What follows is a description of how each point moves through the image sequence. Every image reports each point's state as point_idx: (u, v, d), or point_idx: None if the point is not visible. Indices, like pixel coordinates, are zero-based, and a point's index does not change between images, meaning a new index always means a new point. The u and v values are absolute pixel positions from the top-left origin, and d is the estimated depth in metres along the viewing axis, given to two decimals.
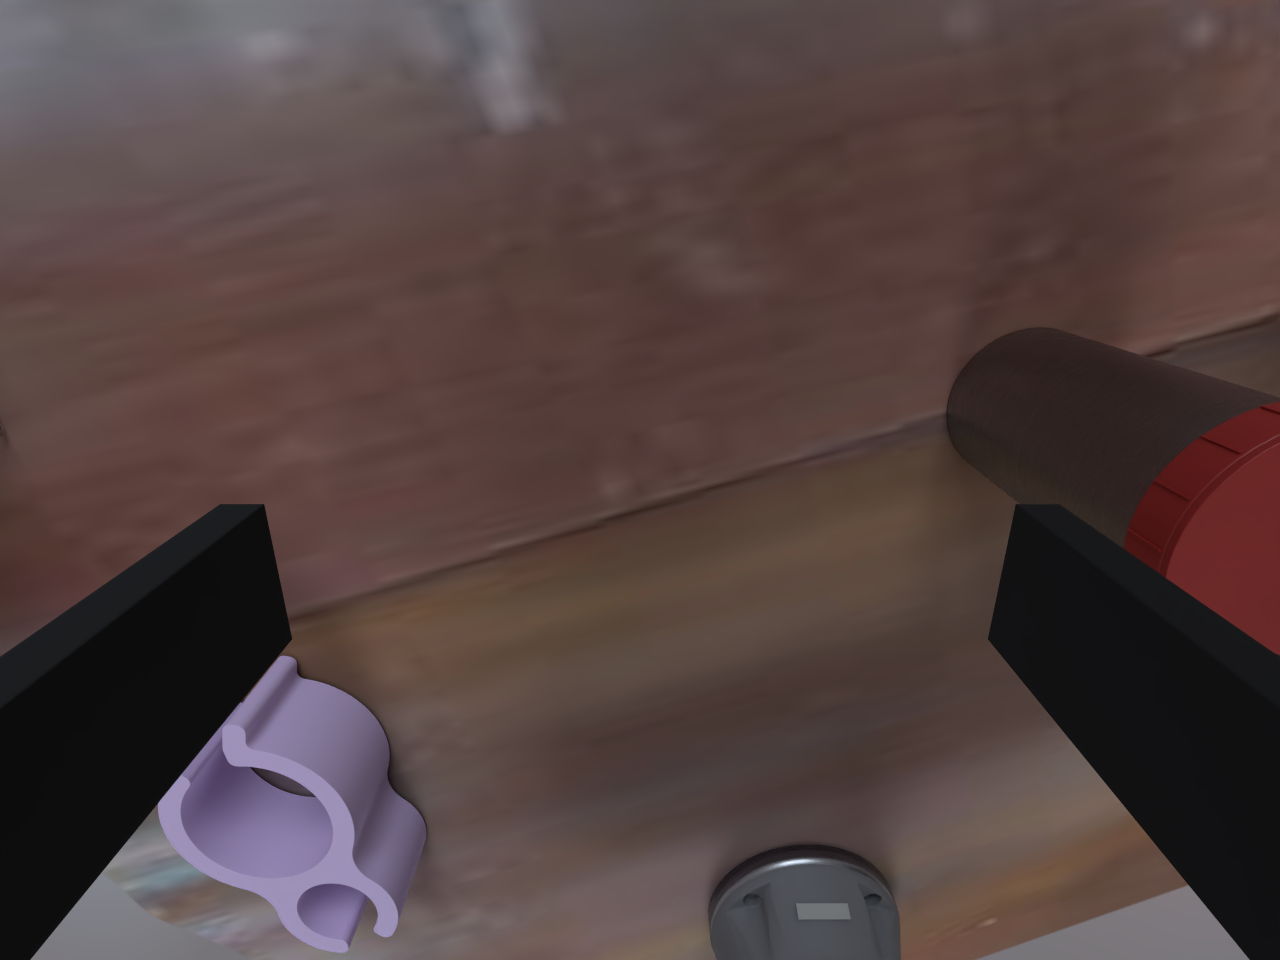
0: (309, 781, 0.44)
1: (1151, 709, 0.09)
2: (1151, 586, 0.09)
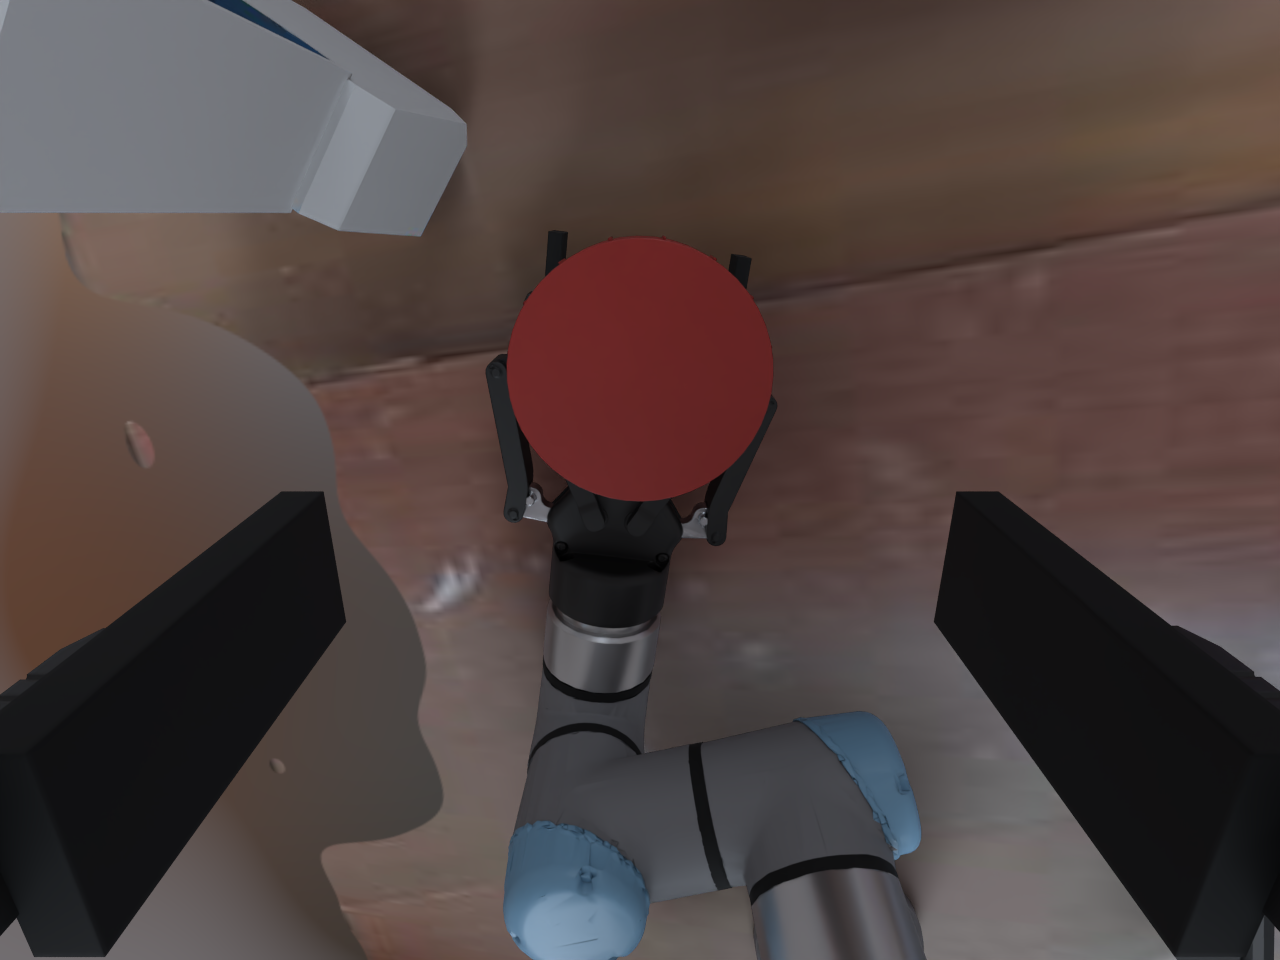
0: None
1: (1064, 680, 0.09)
2: (1068, 565, 0.10)
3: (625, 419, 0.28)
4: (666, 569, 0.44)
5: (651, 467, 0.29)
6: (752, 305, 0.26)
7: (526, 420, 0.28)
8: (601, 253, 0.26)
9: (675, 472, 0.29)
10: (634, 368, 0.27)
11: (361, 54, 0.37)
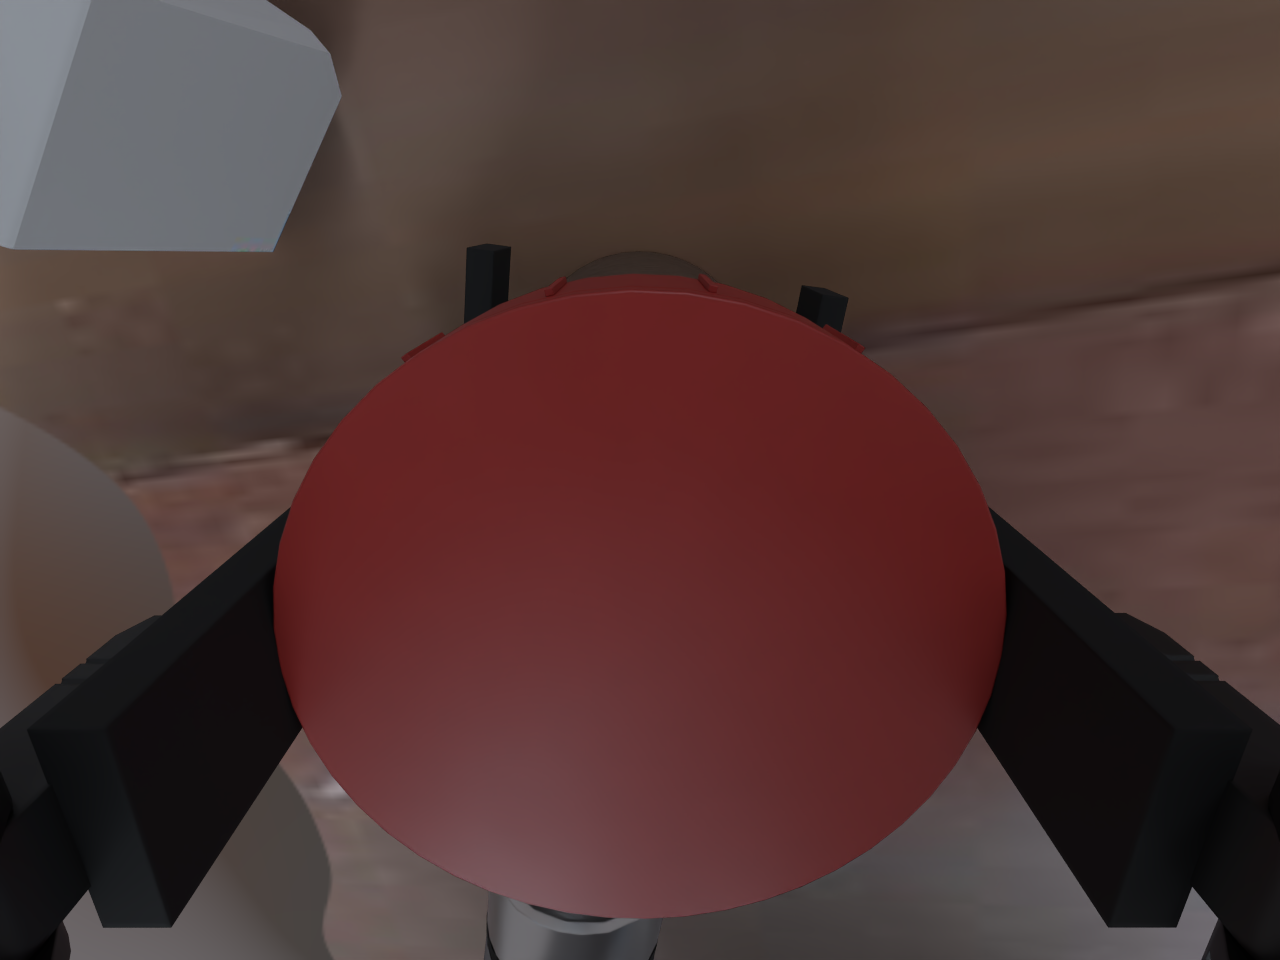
0: None
1: (1014, 665, 0.10)
2: (1021, 554, 0.10)
3: (601, 754, 0.11)
4: None
5: (669, 854, 0.11)
6: (966, 481, 0.09)
7: (342, 756, 0.11)
8: (521, 336, 0.08)
9: (728, 863, 0.11)
10: (624, 639, 0.10)
11: None
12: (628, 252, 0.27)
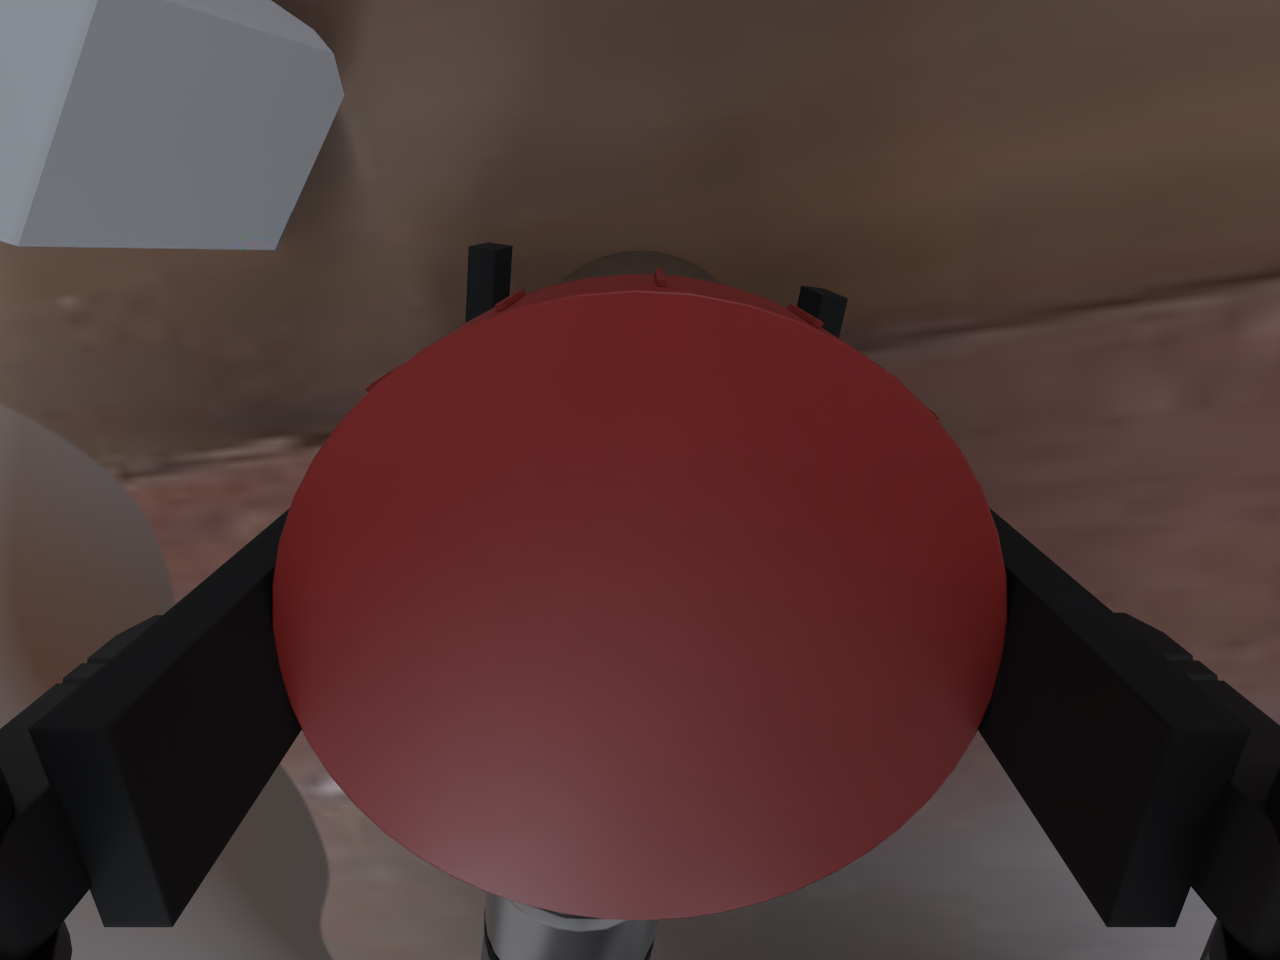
0: None
1: (1014, 665, 0.10)
2: (1020, 554, 0.10)
3: (757, 685, 0.10)
4: None
5: (900, 607, 0.10)
6: (373, 402, 0.09)
7: (775, 882, 0.12)
8: (349, 772, 0.11)
9: (916, 542, 0.09)
10: (614, 679, 0.10)
11: None
12: (629, 252, 0.27)
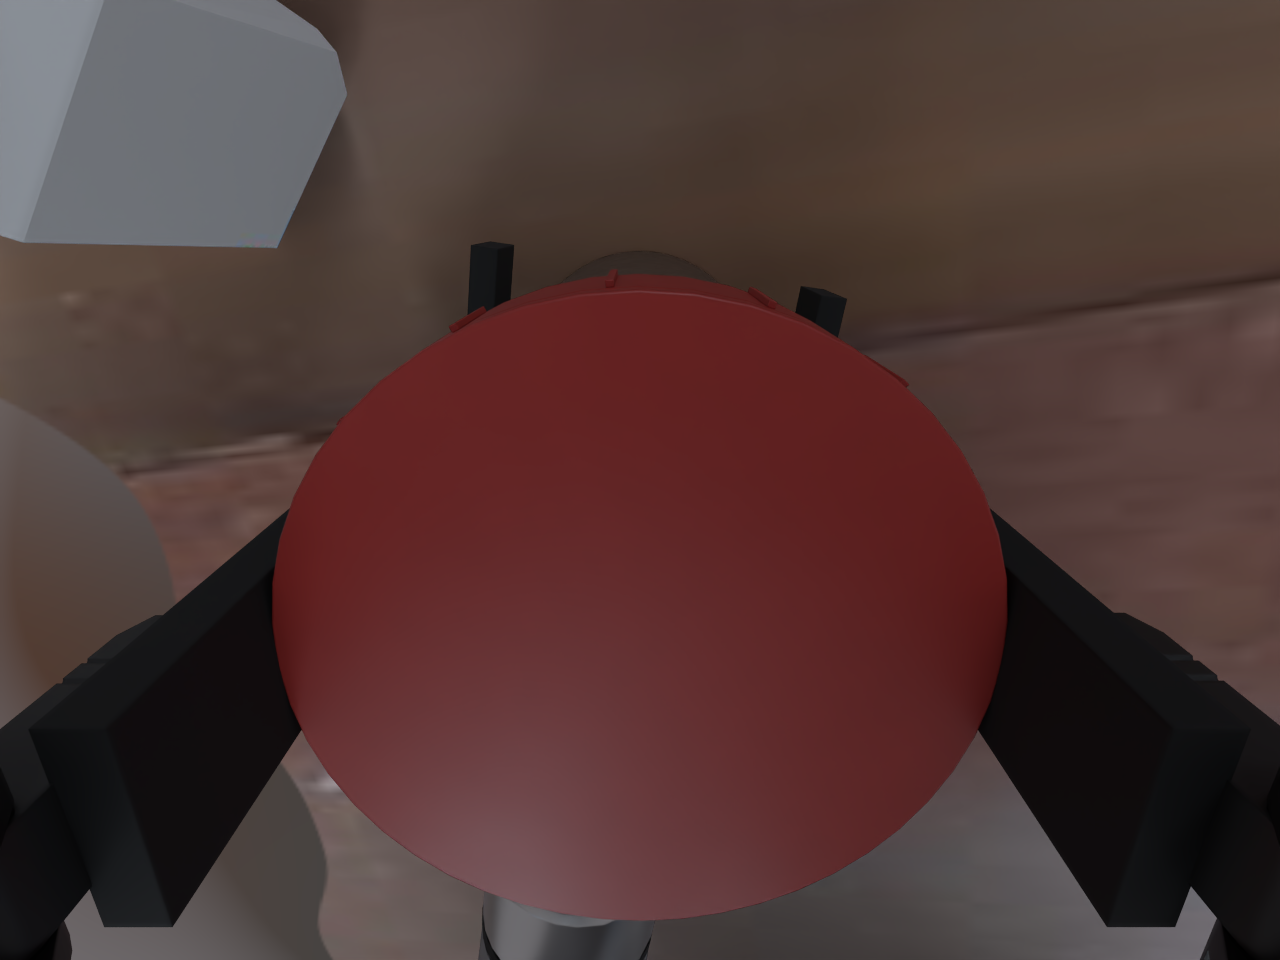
0: None
1: (1013, 665, 0.10)
2: (1020, 554, 0.10)
3: (651, 554, 0.09)
4: None
5: (531, 432, 0.09)
6: (428, 858, 0.11)
7: (947, 485, 0.09)
8: (792, 878, 0.11)
9: (451, 434, 0.09)
10: (660, 684, 0.10)
11: None
12: None
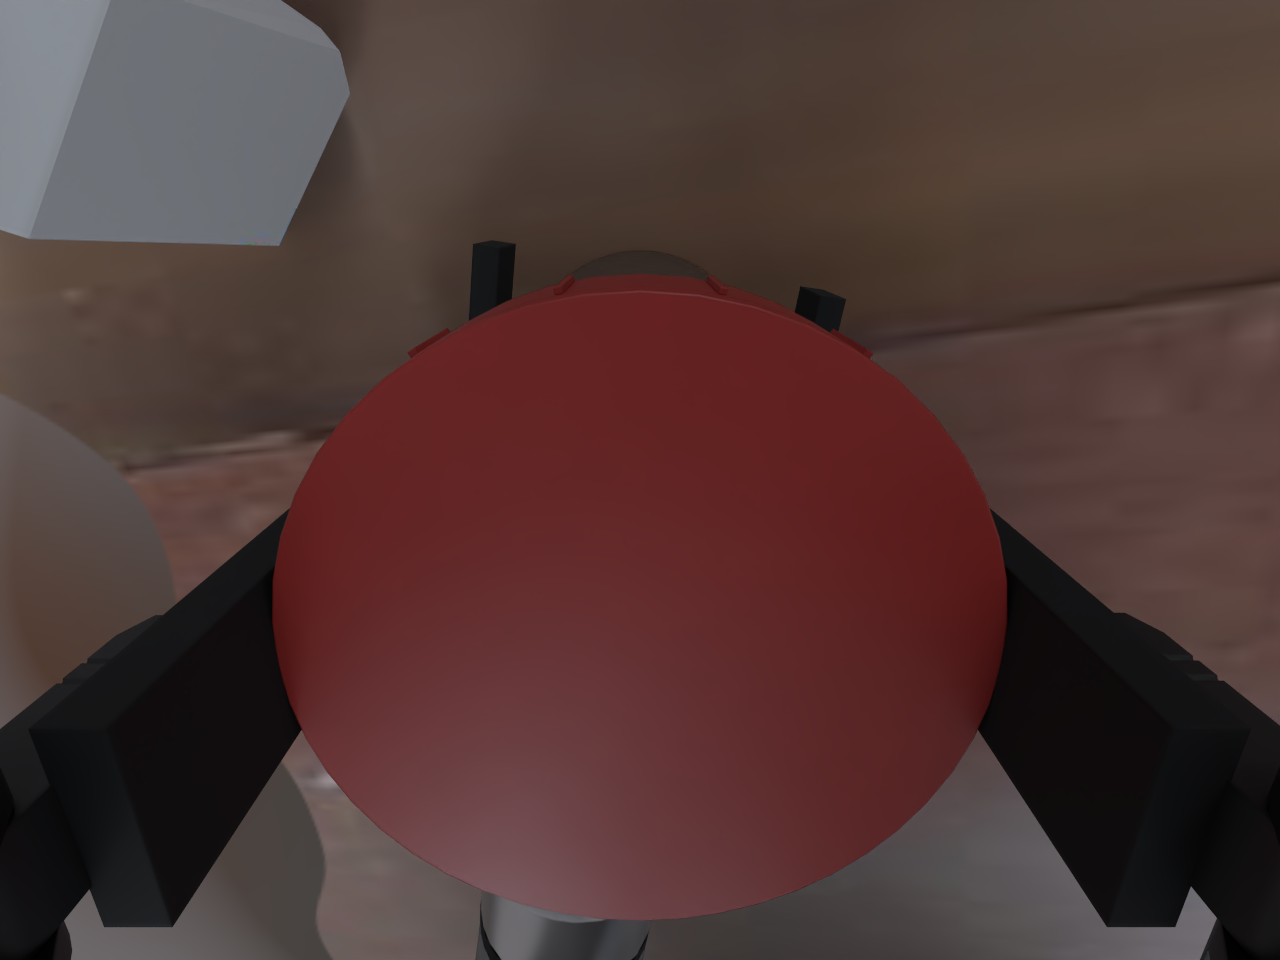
0: None
1: (1013, 665, 0.10)
2: (1020, 554, 0.10)
3: (517, 667, 0.10)
4: None
5: (424, 763, 0.11)
6: (900, 820, 0.11)
7: (382, 421, 0.09)
8: (939, 467, 0.09)
9: (441, 811, 0.11)
10: (660, 644, 0.10)
11: None
12: (630, 251, 0.27)
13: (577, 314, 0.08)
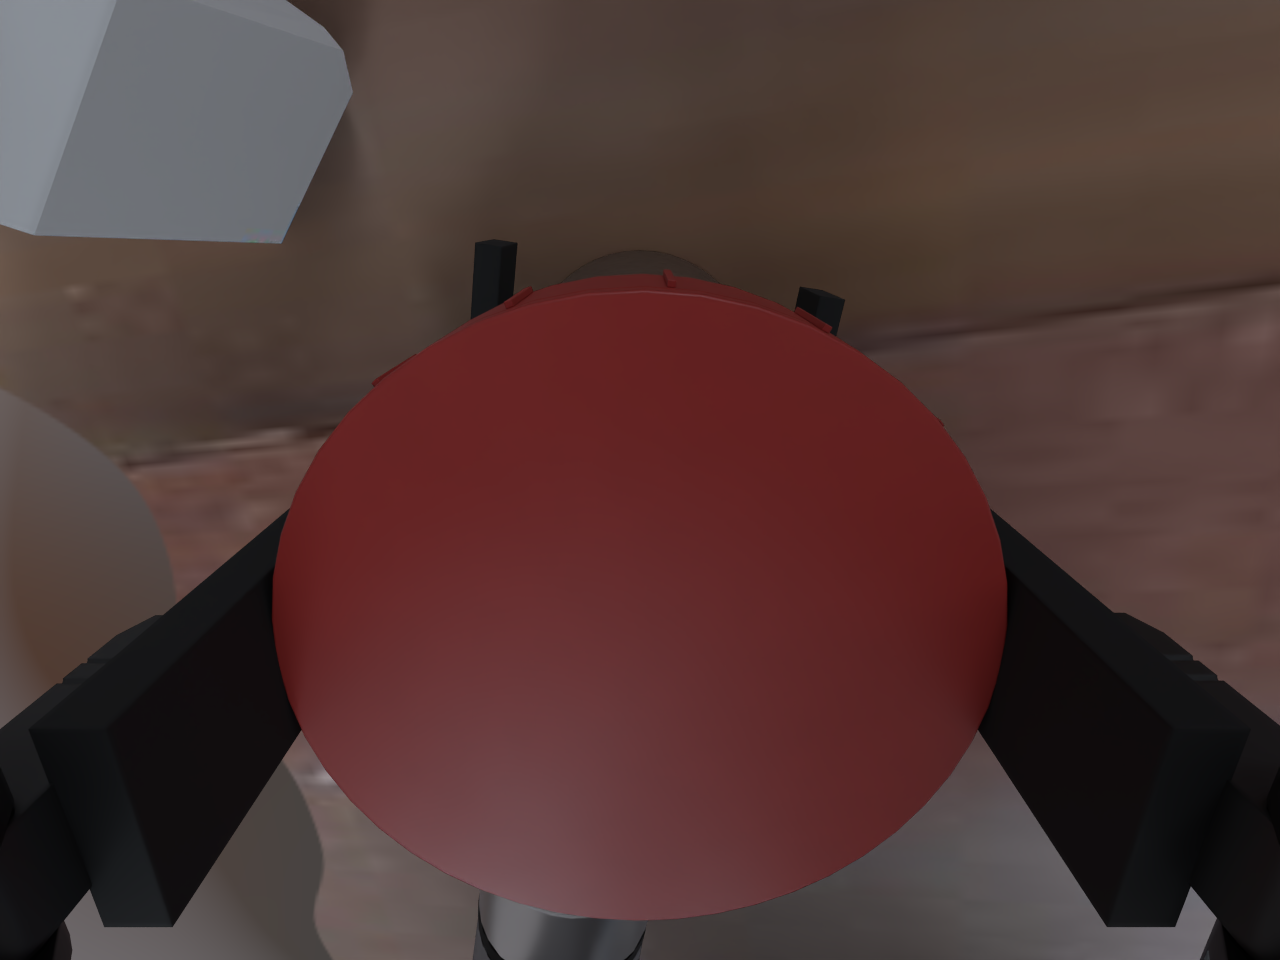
0: None
1: (1014, 665, 0.10)
2: (1020, 554, 0.10)
3: (657, 759, 0.11)
4: None
5: (776, 825, 0.11)
6: (839, 353, 0.08)
7: (442, 853, 0.11)
8: (365, 435, 0.09)
9: (838, 811, 0.11)
10: (613, 649, 0.10)
11: None
12: (631, 251, 0.27)
13: (320, 739, 0.10)
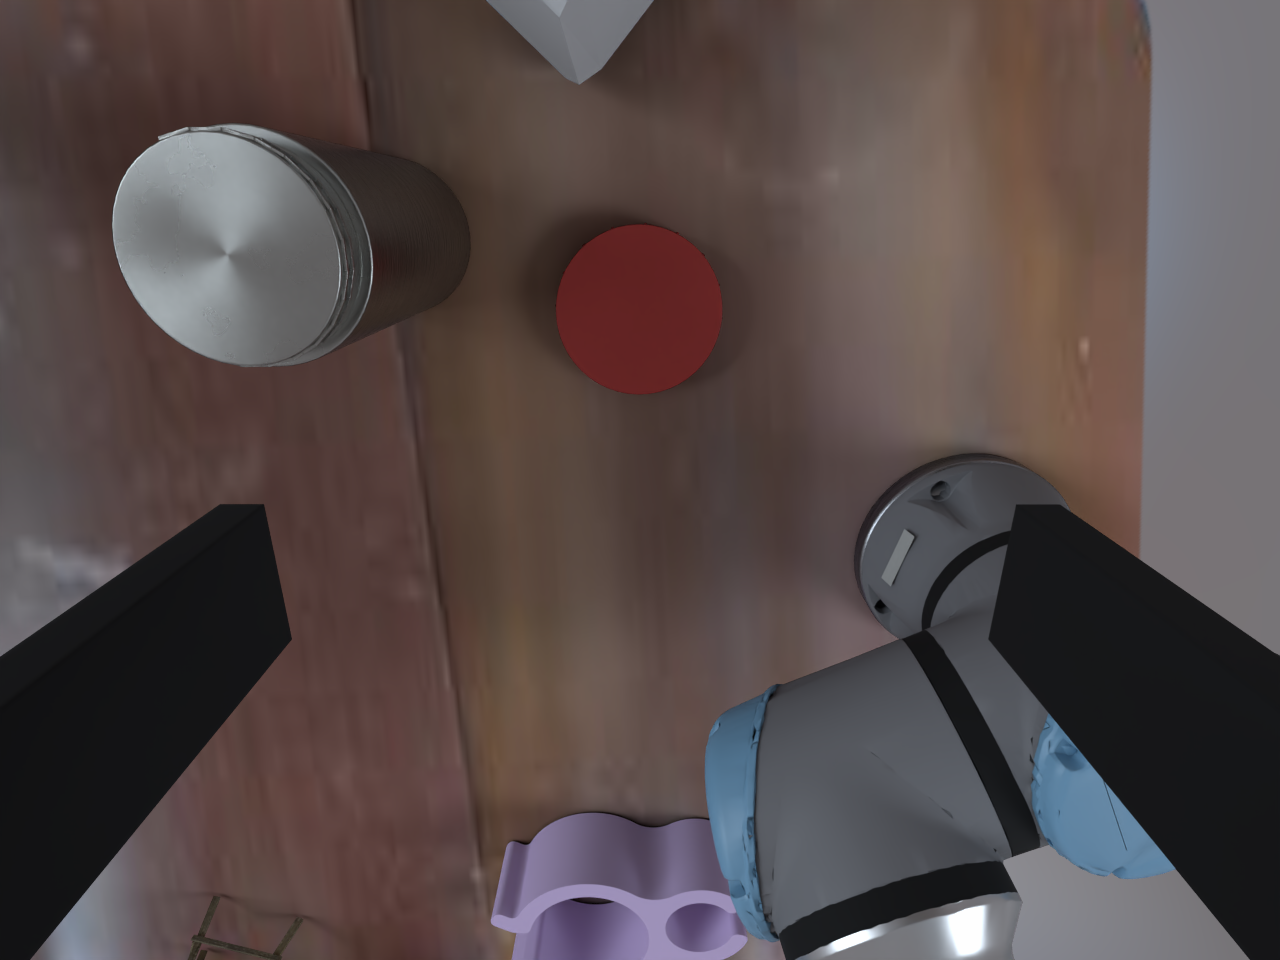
0: (558, 896, 0.55)
1: (1152, 709, 0.09)
2: (1151, 586, 0.09)
3: (643, 340, 0.44)
4: None
5: (673, 361, 0.45)
6: (679, 237, 0.42)
7: (589, 370, 0.45)
8: (582, 255, 0.42)
9: (688, 356, 0.45)
10: (633, 308, 0.43)
11: None
12: (469, 242, 0.44)
13: (563, 334, 0.44)
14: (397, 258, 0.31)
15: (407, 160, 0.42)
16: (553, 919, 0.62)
